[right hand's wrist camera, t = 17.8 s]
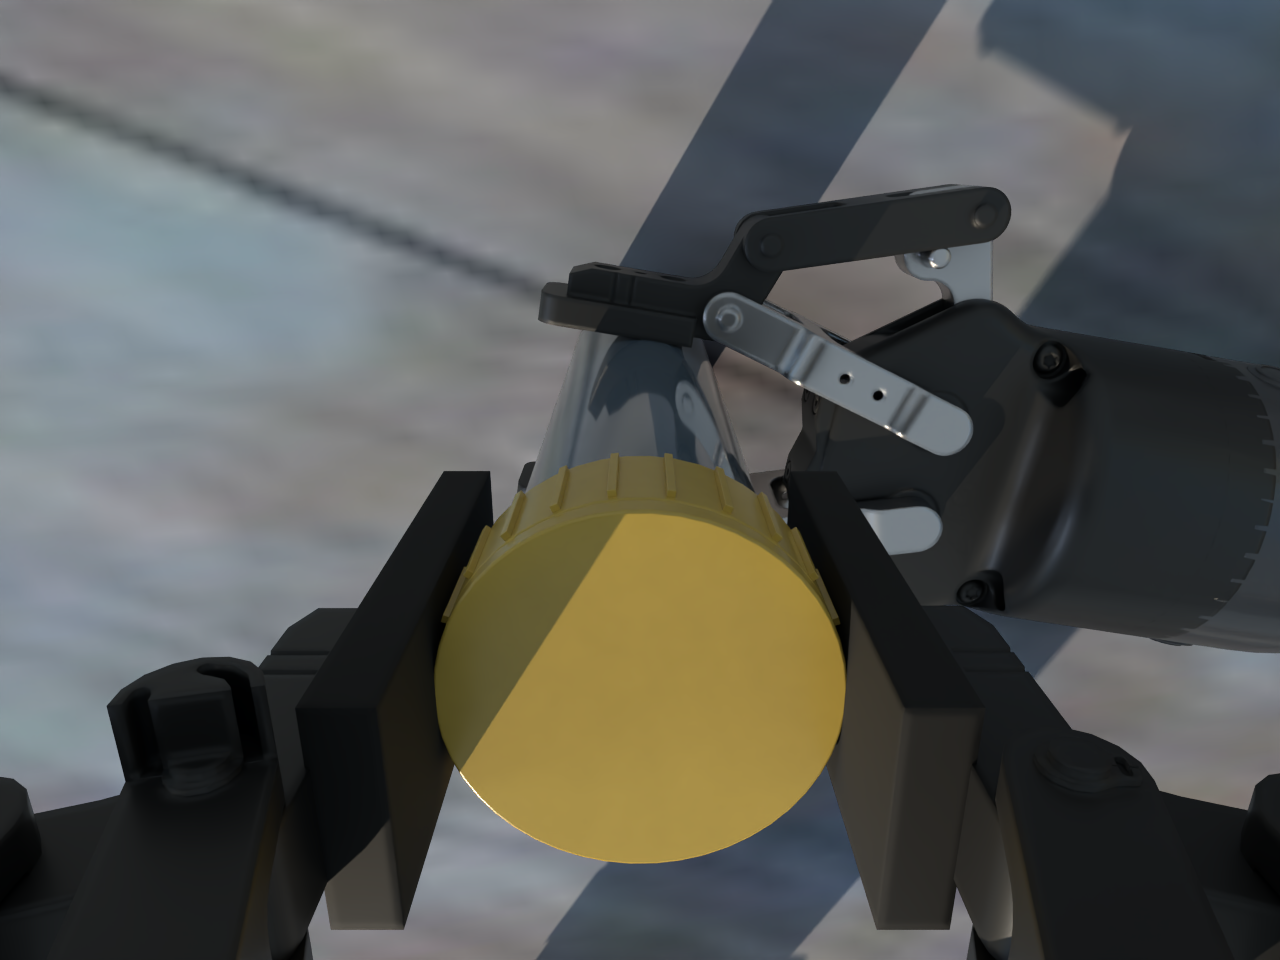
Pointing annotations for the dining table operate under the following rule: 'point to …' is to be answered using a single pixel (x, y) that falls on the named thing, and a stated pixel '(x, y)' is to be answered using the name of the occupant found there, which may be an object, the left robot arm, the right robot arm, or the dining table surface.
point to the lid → (640, 662)
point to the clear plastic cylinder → (639, 408)
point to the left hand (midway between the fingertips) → (534, 395)
